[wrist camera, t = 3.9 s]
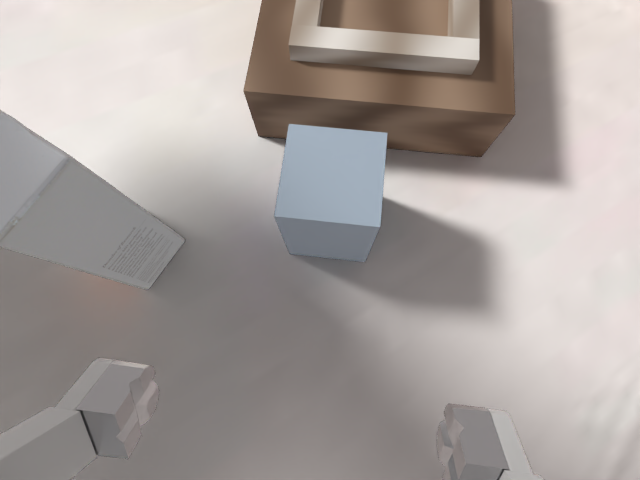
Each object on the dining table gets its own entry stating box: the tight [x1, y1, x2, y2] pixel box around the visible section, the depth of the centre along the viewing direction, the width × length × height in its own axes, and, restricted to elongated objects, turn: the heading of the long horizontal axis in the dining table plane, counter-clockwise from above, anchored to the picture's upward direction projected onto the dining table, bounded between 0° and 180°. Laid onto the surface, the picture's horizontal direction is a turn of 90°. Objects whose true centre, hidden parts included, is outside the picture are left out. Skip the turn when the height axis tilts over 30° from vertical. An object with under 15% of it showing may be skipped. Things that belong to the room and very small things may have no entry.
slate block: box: [274, 124, 387, 262], centre depth 22 cm, size 5×5×8 cm
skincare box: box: [0, 110, 185, 290], centre depth 19 cm, size 6×4×12 cm
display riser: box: [244, 0, 515, 157], centre depth 26 cm, size 16×16×6 cm
